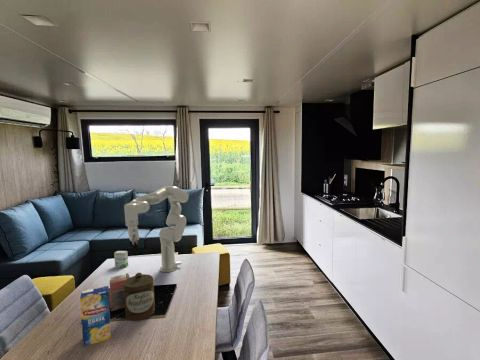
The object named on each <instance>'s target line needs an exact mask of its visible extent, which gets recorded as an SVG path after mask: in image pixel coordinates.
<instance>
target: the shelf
mask: <svg viewBox="0 0 480 360" xmlns="http://www.w3.org/2000/svg"><path fill="white" fill-rule="evenodd" d="M124 277H127V279H128V278H130V274H129V272H128V273H125V274H120V275H116V276H112V277H110V280H115V279H119V278H124ZM109 308H110V312H114V311H117V310H121V309H123V308H124V309H125V290H124V289H123V290H119V291H114V292H113V302H111V300H110V289H109Z"/></svg>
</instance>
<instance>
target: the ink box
mask: <svg viewBox="0 0 480 360" xmlns="http://www.w3.org/2000/svg"><path fill="white" fill-rule="evenodd" d="M113 253H114V254H113V255H114V256H113V257H114V268H122V269H123V268H127V267H128V266H129V260H128V258H129V257H128V256H129V255H128V251H127V250H117V251H115V252H113Z"/></svg>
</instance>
